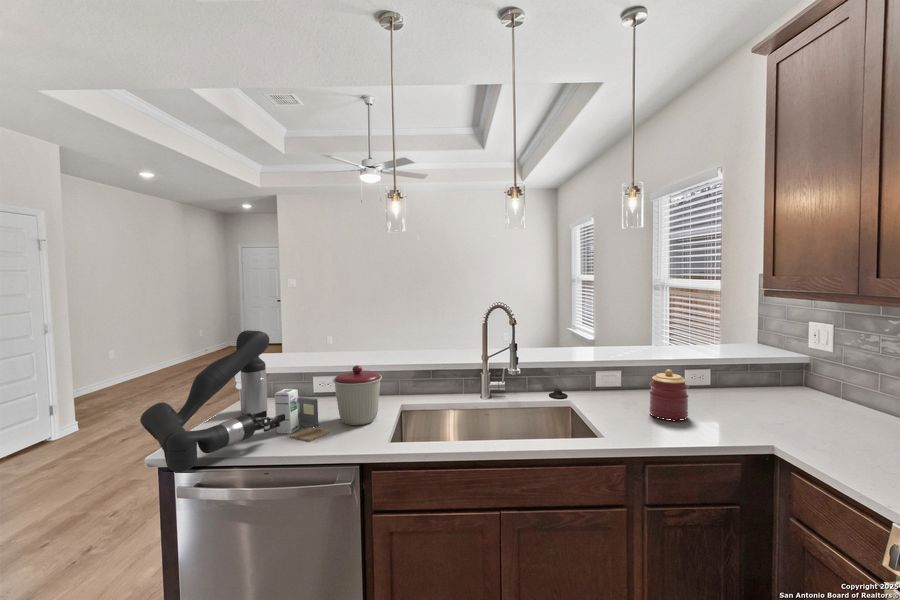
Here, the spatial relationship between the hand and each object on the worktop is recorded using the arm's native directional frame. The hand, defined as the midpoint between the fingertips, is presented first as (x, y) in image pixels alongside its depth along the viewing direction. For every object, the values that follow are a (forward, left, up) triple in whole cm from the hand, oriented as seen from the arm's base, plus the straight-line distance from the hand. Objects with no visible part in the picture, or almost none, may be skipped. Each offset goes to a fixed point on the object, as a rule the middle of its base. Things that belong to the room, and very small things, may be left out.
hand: (275, 415), depth 148 cm
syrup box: (0, +6, -8) cm, 9 cm away
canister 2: (+122, +73, -8) cm, 142 cm away
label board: (0, +12, -7) cm, 14 cm away
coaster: (+10, +6, -7) cm, 13 cm away
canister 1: (+17, +24, -8) cm, 30 cm away
